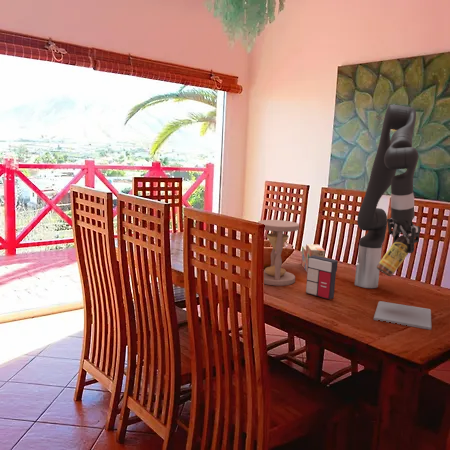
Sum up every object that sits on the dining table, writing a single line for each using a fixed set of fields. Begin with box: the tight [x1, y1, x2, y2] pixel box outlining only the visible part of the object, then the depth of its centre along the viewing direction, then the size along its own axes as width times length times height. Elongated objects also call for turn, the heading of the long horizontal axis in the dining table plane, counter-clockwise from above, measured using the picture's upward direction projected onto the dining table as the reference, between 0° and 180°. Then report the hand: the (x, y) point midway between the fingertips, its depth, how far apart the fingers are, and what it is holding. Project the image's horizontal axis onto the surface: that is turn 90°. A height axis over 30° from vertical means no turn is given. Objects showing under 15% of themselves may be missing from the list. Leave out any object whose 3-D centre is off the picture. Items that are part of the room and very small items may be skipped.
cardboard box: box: [301, 243, 326, 273], centre depth 219 cm, size 21×6×12 cm, turn 1°
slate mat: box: [373, 300, 432, 331], centre depth 163 cm, size 18×20×1 cm
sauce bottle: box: [377, 224, 422, 277], centre depth 165 cm, size 7×6×20 cm
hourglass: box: [257, 219, 300, 287], centre depth 199 cm, size 18×18×25 cm
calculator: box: [305, 255, 339, 300], centre depth 180 cm, size 11×4×15 cm, turn 47°
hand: (403, 249), depth 165 cm, fingers closed on sauce bottle, 6 cm apart
